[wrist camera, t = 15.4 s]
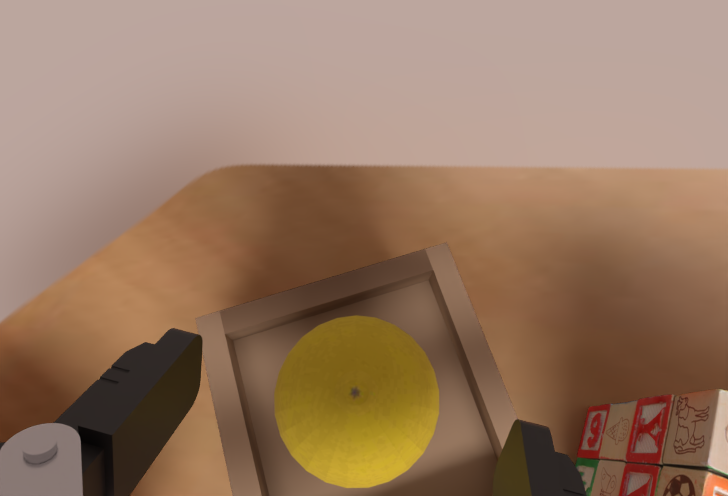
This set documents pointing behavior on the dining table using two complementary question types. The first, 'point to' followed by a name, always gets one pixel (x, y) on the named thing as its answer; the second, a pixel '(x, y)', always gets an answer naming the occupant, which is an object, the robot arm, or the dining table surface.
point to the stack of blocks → (657, 446)
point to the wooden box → (372, 299)
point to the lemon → (356, 401)
